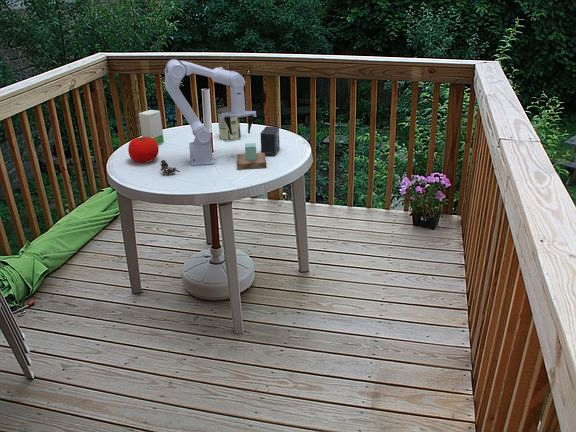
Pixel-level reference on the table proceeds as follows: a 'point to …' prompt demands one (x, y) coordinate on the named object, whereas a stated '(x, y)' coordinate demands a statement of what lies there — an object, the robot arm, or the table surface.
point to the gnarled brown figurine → (169, 169)
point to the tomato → (143, 149)
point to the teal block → (250, 151)
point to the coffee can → (224, 128)
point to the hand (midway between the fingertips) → (240, 133)
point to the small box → (270, 141)
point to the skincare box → (151, 125)
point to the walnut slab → (251, 162)
